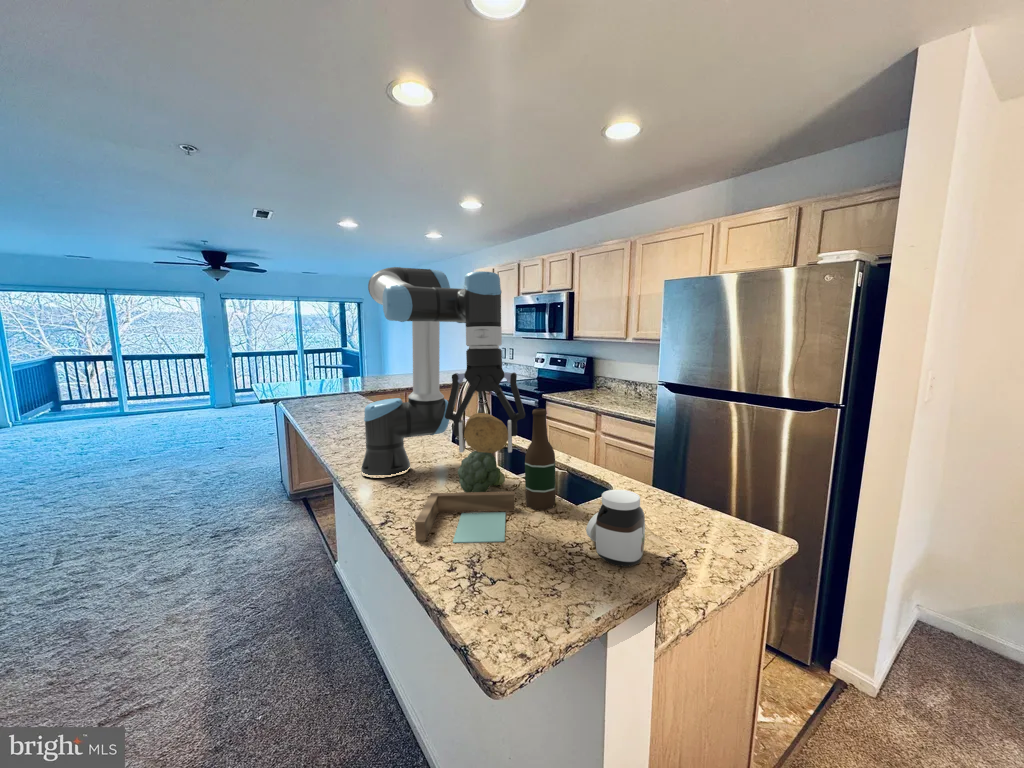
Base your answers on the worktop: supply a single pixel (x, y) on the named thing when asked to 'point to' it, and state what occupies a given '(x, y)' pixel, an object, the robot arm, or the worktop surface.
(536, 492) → the beer bottle
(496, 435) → the potato
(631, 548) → the spread jar
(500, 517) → the pad
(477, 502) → the corner arena
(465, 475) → the vegetable
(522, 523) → the worktop surface
